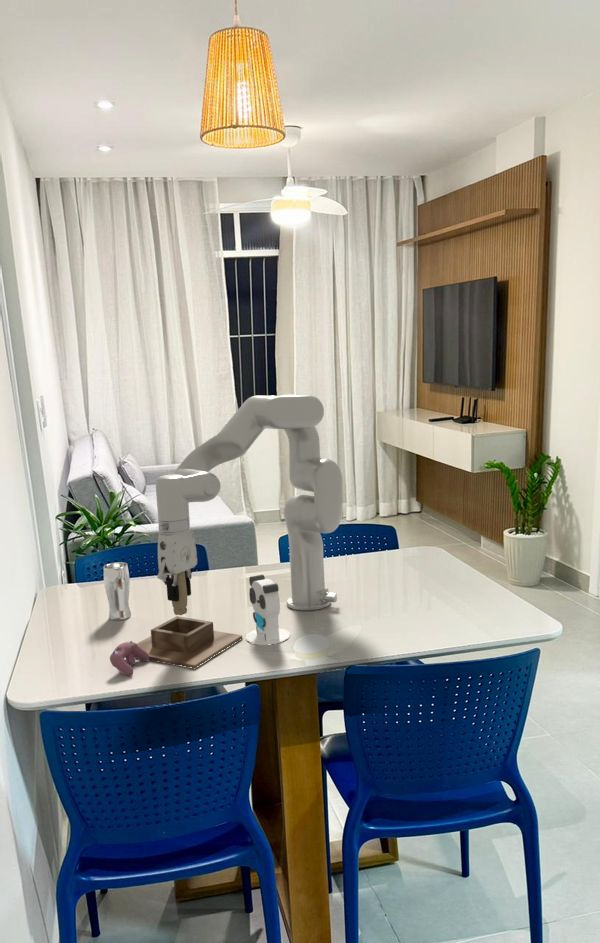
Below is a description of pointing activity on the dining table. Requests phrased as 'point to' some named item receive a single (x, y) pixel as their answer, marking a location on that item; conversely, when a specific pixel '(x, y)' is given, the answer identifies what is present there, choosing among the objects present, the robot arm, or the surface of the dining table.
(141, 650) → the video game controller
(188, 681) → the dining table surface
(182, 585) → the handle
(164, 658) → the holder
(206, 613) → the dining table surface
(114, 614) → the beer glass
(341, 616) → the dining table surface
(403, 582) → the dining table surface
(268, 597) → the panda figurine
